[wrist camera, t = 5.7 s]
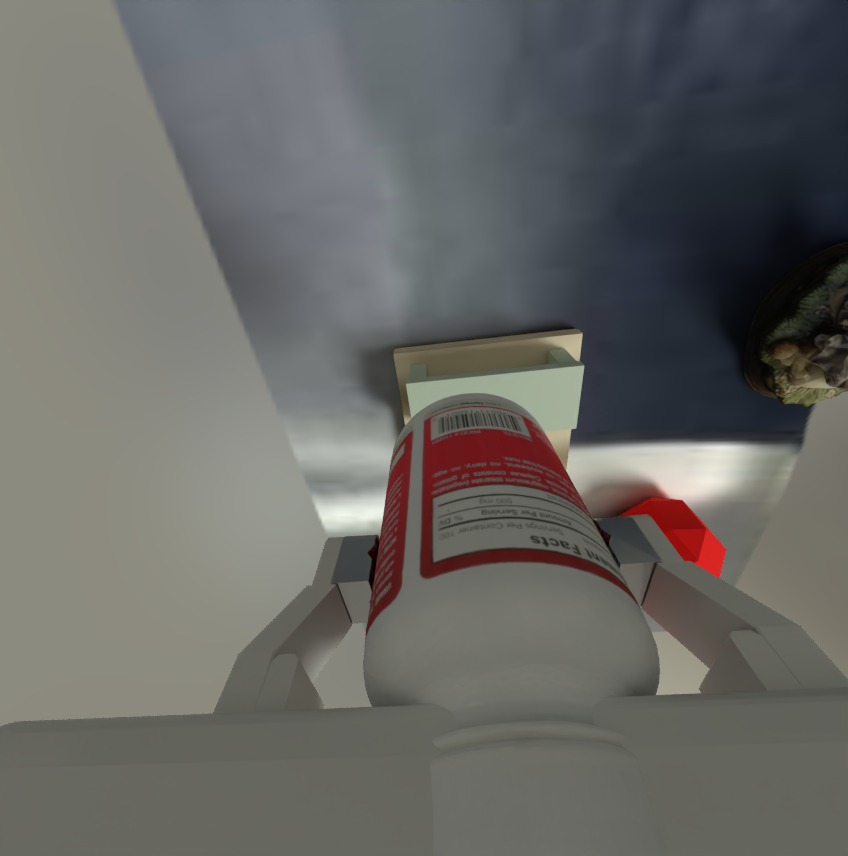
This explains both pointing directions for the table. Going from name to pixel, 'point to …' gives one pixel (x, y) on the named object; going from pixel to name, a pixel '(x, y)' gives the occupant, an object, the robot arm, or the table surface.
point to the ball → (683, 532)
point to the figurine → (802, 332)
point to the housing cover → (511, 388)
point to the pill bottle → (508, 638)
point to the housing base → (489, 363)
